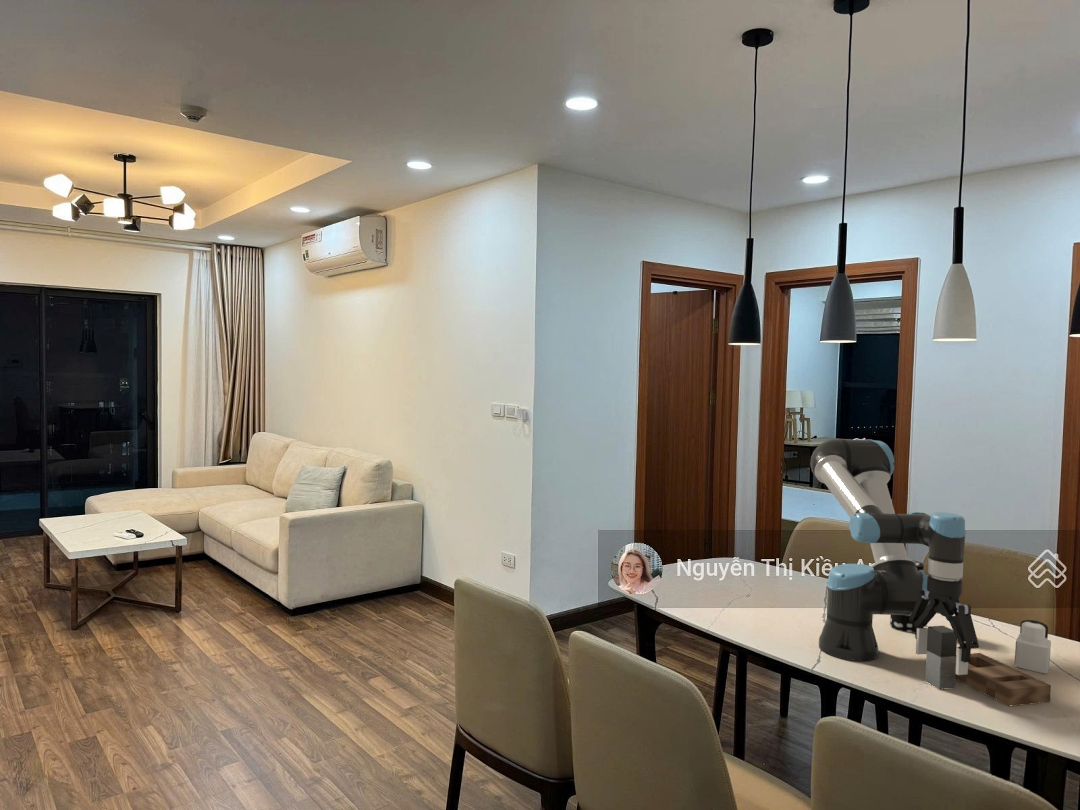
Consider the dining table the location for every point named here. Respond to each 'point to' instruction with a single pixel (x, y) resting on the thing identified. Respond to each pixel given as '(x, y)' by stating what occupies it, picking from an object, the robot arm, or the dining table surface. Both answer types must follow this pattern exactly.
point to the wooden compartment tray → (1003, 682)
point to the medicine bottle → (1033, 647)
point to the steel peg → (941, 657)
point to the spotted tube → (901, 620)
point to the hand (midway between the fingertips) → (940, 663)
